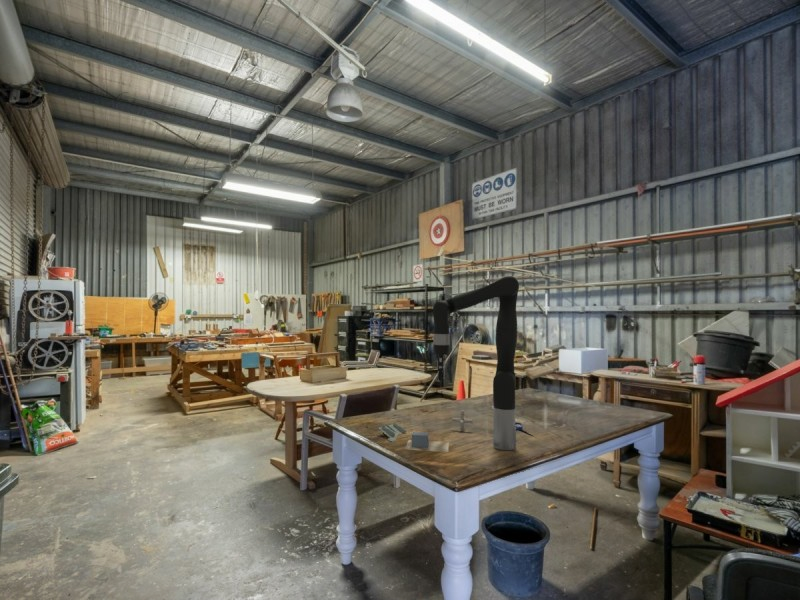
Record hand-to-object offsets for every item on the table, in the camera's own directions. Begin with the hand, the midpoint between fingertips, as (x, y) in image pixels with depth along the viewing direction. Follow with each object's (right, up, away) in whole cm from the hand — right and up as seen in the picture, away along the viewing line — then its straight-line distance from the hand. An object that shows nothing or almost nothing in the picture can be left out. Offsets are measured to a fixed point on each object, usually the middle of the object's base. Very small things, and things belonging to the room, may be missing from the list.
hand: (441, 378), depth 183 cm
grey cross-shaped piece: (+12, -29, +15) cm, 35 cm away
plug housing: (-10, -26, -13) cm, 31 cm away
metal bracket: (-22, -29, +5) cm, 36 cm away
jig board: (-7, -28, -12) cm, 31 cm away
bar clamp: (+43, -30, +11) cm, 54 cm away
